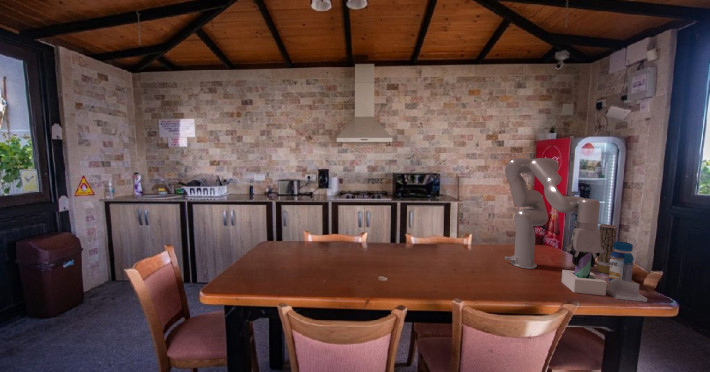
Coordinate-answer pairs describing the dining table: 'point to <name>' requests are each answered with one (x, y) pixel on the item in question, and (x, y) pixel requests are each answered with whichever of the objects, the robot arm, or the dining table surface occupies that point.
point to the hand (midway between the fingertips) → (583, 265)
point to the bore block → (584, 283)
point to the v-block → (625, 290)
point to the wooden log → (606, 247)
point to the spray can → (583, 265)
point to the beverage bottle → (621, 261)
